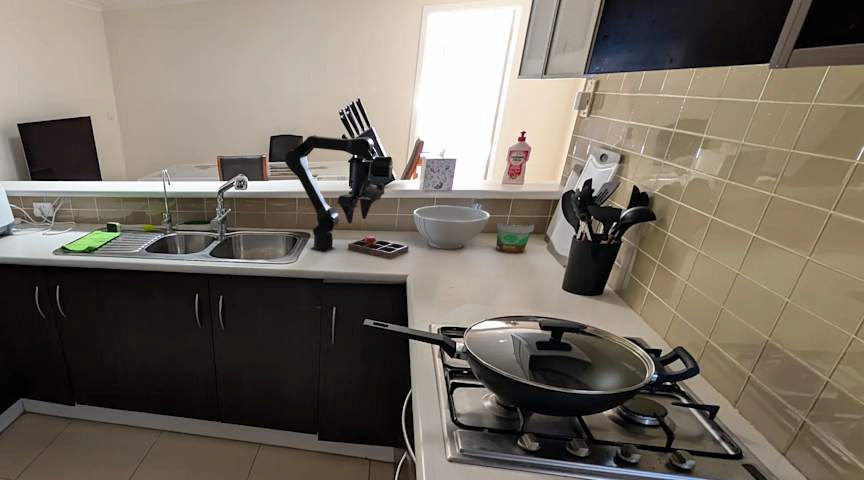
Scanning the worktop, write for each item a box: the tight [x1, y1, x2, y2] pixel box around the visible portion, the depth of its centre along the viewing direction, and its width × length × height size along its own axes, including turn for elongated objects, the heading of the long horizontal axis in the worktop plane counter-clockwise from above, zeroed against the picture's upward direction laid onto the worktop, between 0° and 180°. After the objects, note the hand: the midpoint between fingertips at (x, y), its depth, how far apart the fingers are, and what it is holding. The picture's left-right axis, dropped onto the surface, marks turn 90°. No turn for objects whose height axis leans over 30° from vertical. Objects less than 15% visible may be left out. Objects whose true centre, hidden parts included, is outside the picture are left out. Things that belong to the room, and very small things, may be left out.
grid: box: [347, 237, 410, 260], centre depth 190 cm, size 18×12×2 cm
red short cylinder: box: [364, 235, 376, 243], centre depth 195 cm, size 4×4×3 cm
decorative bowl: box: [413, 205, 490, 250], centre depth 192 cm, size 27×27×12 cm
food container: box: [495, 221, 535, 255], centre depth 181 cm, size 12×6×10 cm, turn 68°
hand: (357, 221), depth 184 cm, fingers open, 9 cm apart
